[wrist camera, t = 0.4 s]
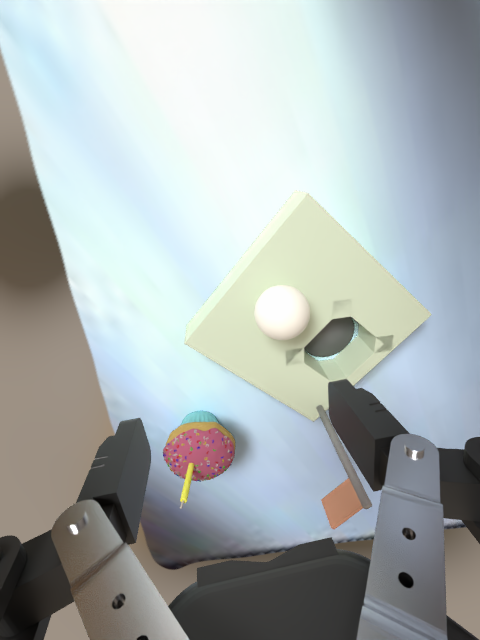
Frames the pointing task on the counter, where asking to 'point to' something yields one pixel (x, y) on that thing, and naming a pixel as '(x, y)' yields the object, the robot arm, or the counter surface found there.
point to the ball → (282, 312)
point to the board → (322, 329)
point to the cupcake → (199, 449)
